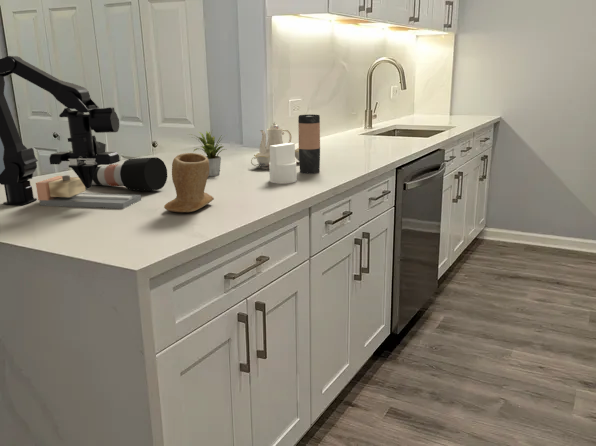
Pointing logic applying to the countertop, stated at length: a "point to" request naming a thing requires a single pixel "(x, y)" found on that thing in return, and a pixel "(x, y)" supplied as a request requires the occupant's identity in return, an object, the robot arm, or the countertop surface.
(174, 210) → the stone cup
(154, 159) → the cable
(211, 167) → the house plant
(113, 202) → the track
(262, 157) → the chinaware
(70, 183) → the block
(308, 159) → the travel mug
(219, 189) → the countertop surface
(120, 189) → the countertop surface
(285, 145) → the base with upright slab
